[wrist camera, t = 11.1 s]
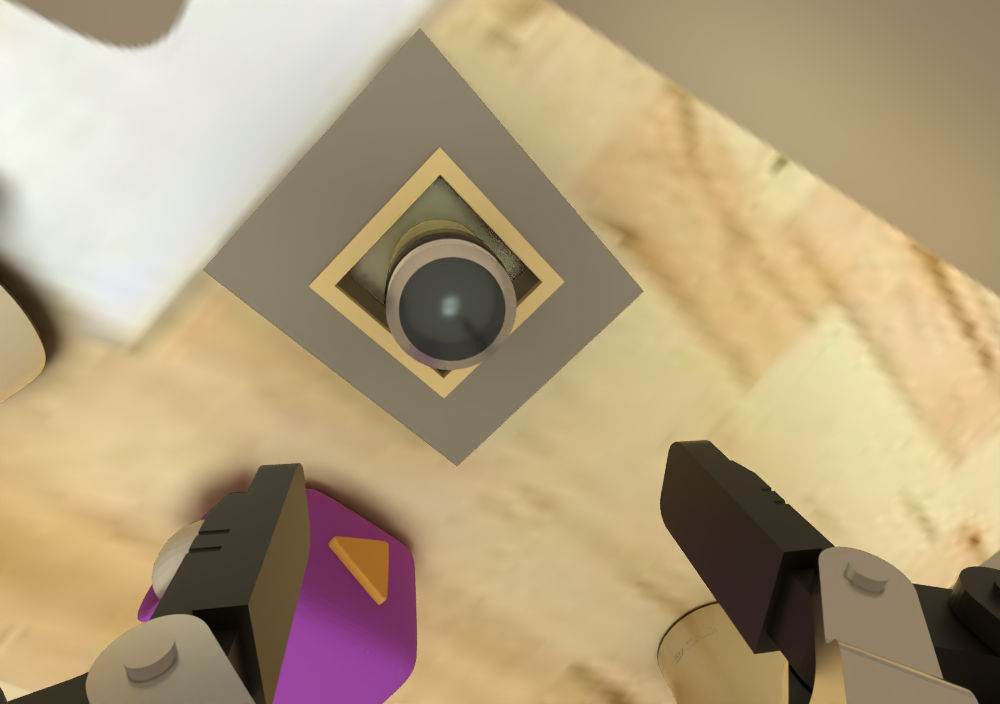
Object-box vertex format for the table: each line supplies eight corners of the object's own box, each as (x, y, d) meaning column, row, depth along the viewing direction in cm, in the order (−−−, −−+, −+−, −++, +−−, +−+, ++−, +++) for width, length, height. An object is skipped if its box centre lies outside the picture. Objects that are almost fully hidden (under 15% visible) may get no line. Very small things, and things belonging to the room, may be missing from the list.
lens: (509, 268, 28) (547, 309, 21) (441, 335, 29) (453, 398, 22) (439, 195, 26) (452, 211, 19) (367, 268, 27) (353, 313, 20)
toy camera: (228, 435, 29) (149, 565, 20) (434, 522, 34) (446, 660, 25) (149, 571, 31) (45, 744, 22) (352, 635, 36) (335, 801, 27)
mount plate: (621, 278, 30) (647, 293, 27) (452, 438, 32) (457, 471, 28) (417, 42, 24) (420, 25, 21) (224, 257, 26) (198, 272, 22)
